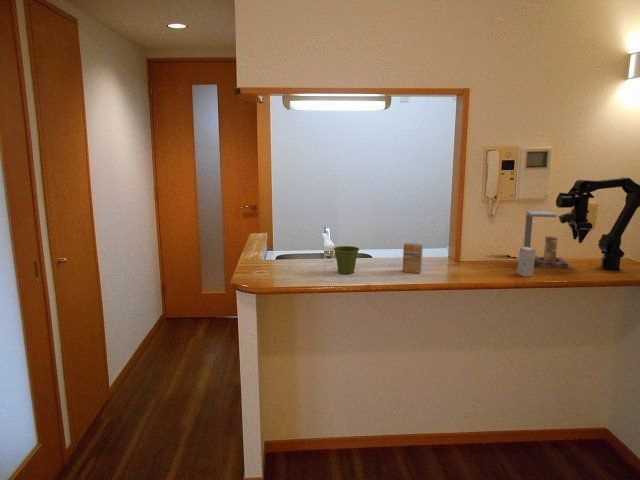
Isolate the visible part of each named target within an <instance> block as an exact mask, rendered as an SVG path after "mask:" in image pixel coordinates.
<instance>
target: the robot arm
mask: <svg viewBox="0 0 640 480" xmlns="http://www.w3.org/2000/svg"><path fill="white" fill-rule="evenodd" d="M613 188H621V189H622V190H623V192H624V193H625V194H626V196H625V203H624V207H623V208H622V210H621V212H620V214H619V215H618V217H617V219H616V220H615V223H614V224H613V226H612V227H611V229H610V231H609V232H608V233H607V234H604V233H603V234H602V235H601V236H600V237H601V238H599V240H598V248H599V250H600V252H601V254H602V257H601V263H600V267H601V268H603V269H604V270H608V271H609V270H611V271H613V270H614V271H621V268H620V267H621V266H620V265H621V258H623V257H624V255H625V252H624V251H623V250H622V248H621V244H622V236H623V234H624V233H625V231H626V229H627V227H628V225H629V224H630V222H631V220H632V218H633V216H634V215H635V214H636V212H637V209H638V208H639V207H640V184H639V183H636V182H635V181H634V180H633V179H632V178H630V177H624V176H623V177H622V176H621V177H620V178H619V177H618V178H610V179H599V180H589V179H577V180H576V181H575V182H574V184H573V186H572V187H571V188H570V189H569V191H568V192H559V193H558V196H556V199H555V205H556V207H557V208H559V209H560V208H561V209H562V208H563V209H566V208H572V209H571V212H568V213H563V214H560V215H558V220H559V222H560V223H561V224H566V223H567V225H568V226H569V227H570V228H571V233H572V238H573V240H577V238H578V243H579V244H582V243H583V241H584V240H585V238H587V235H588V234H590V233H589V232H590V231H591V230H593V226H594V225H593V223H591V222H590V221H589V219H588V214H589V213H590V210H589V202H590V199H594V198H595V196H594V195H593V194H592V193H593V192H595V191H598V190H604V189H613Z"/></svg>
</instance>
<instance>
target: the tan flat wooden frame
mask: <svg viewBox="0 0 640 480" xmlns="http://www.w3.org/2000/svg"><path fill="white" fill-rule="evenodd" d="M543 260H544V256H540V255H539V256H538V255H535V260H534V268H536V269H553V270H568V271H569V270H570V271H571V270H573V271H574V270H575V268H574V267H572V266H571V265H570V264H569V263H568V262H567V261H566V260H565V259H564V258H563V257H559V256H556V260H555V262H545V261H543Z"/></svg>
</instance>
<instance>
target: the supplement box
mask: <svg viewBox="0 0 640 480" xmlns="http://www.w3.org/2000/svg"><path fill="white" fill-rule="evenodd" d="M423 247H424V243H411V242H410V243H409V242H404V243H403V252H402V272H403V273H413V274H421V272H422V269H423V268H422V267H423V250H424V249H423Z"/></svg>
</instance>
